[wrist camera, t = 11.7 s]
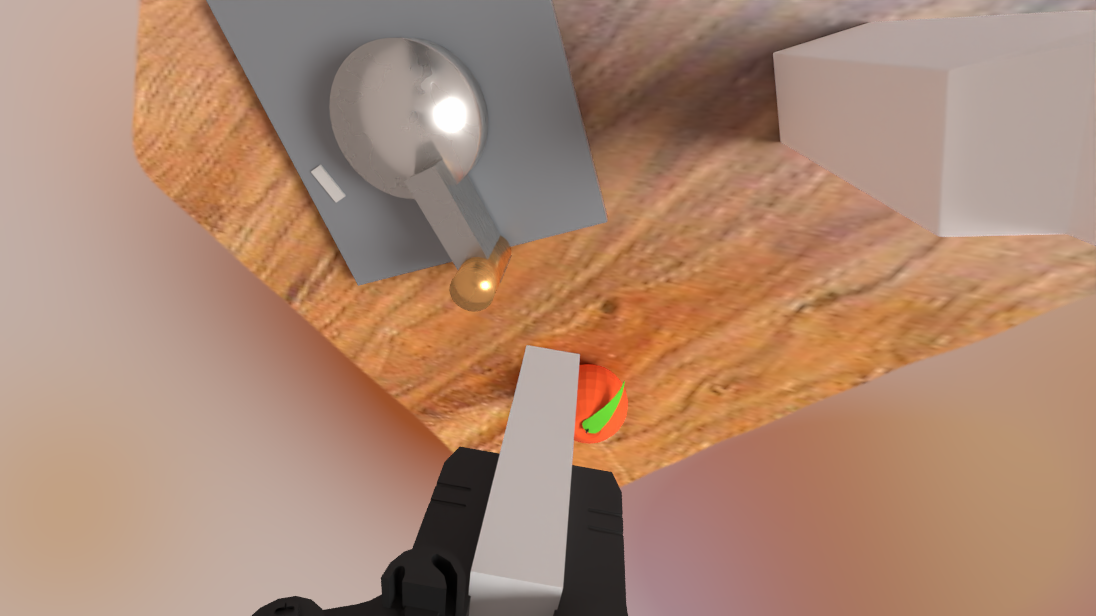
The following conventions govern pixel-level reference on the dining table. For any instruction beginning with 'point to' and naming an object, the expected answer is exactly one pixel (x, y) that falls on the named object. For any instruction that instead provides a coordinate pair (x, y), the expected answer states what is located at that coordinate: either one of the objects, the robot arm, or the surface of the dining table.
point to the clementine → (598, 404)
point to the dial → (423, 148)
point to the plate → (509, 91)
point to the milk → (954, 119)
